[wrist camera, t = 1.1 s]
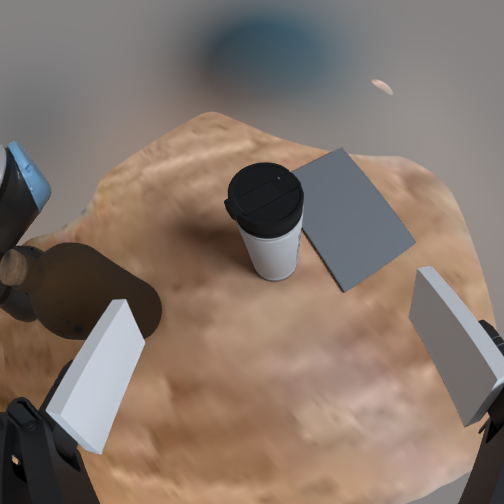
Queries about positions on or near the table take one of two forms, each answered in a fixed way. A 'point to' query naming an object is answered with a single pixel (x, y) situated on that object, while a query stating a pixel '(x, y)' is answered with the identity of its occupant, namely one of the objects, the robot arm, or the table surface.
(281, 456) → the table surface
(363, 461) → the table surface
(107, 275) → the olive oil
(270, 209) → the travel mug
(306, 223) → the rubber mat
